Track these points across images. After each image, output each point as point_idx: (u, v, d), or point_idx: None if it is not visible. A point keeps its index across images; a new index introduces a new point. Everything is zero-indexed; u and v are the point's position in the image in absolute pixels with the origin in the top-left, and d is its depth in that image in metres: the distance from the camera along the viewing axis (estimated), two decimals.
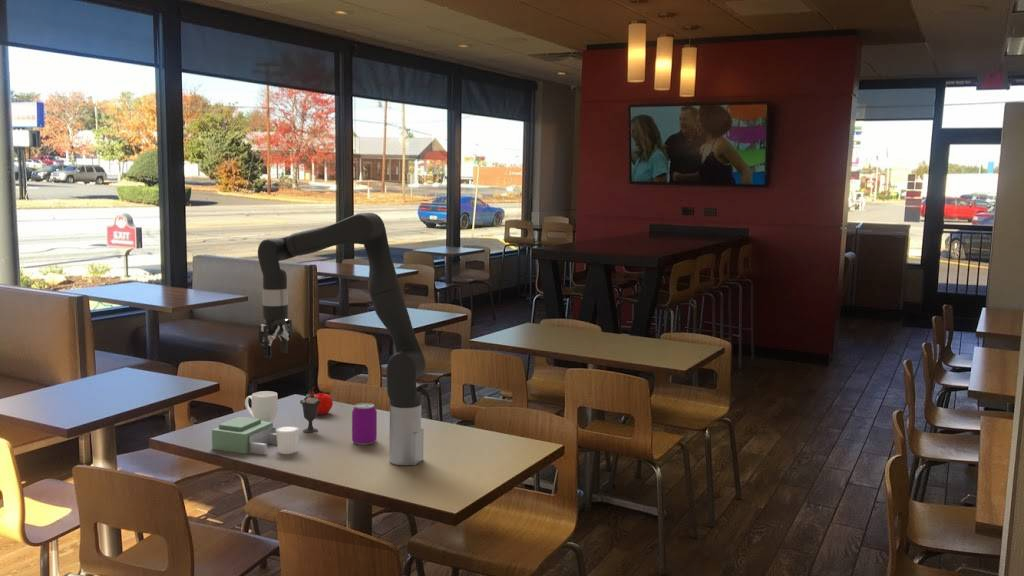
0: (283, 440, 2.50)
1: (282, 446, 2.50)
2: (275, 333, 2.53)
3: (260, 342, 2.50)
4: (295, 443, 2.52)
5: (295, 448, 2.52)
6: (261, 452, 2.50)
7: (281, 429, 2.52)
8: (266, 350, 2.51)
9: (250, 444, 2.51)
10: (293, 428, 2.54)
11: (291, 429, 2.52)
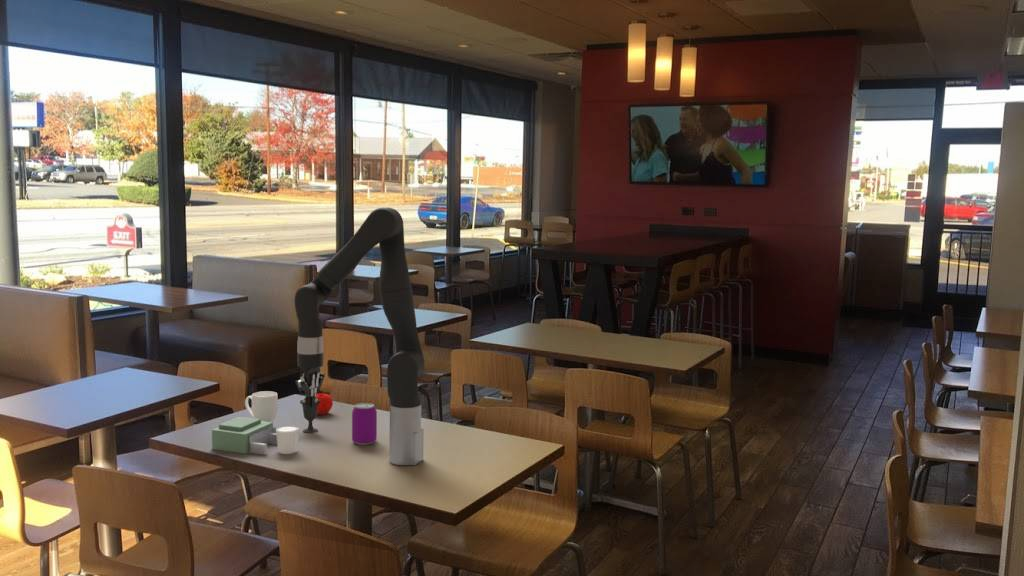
0: (283, 440, 2.50)
1: (282, 446, 2.50)
2: (313, 383, 2.47)
3: (302, 393, 2.46)
4: (295, 443, 2.52)
5: (295, 448, 2.52)
6: (261, 452, 2.50)
7: (281, 429, 2.52)
8: (308, 400, 2.48)
9: (250, 444, 2.51)
10: (293, 428, 2.54)
11: (291, 429, 2.52)
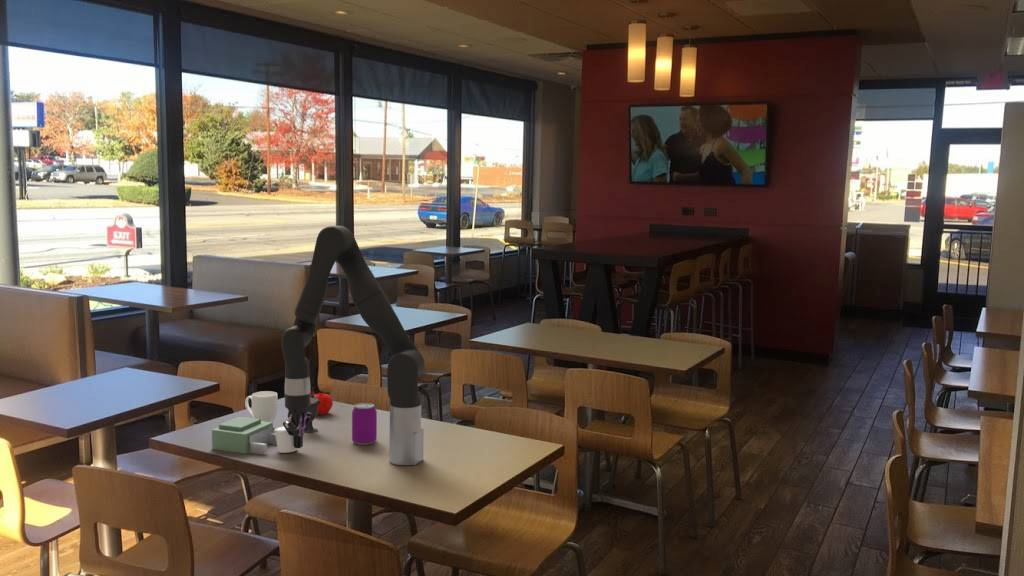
0: (282, 439, 2.50)
1: (281, 445, 2.50)
2: (300, 423, 2.50)
3: (290, 433, 2.49)
4: None
5: None
6: (261, 452, 2.50)
7: (279, 428, 2.52)
8: (296, 441, 2.50)
9: (250, 444, 2.51)
10: None
11: None
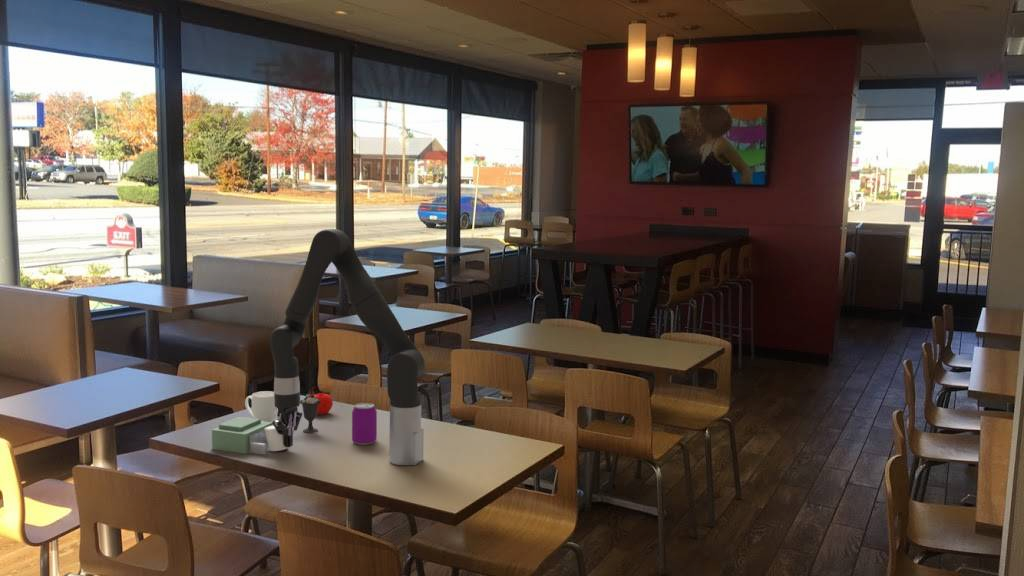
0: (273, 437, 2.51)
1: (272, 443, 2.51)
2: (290, 422, 2.51)
3: (280, 432, 2.50)
4: None
5: None
6: (261, 452, 2.50)
7: (269, 427, 2.53)
8: (286, 440, 2.52)
9: (250, 444, 2.51)
10: None
11: None
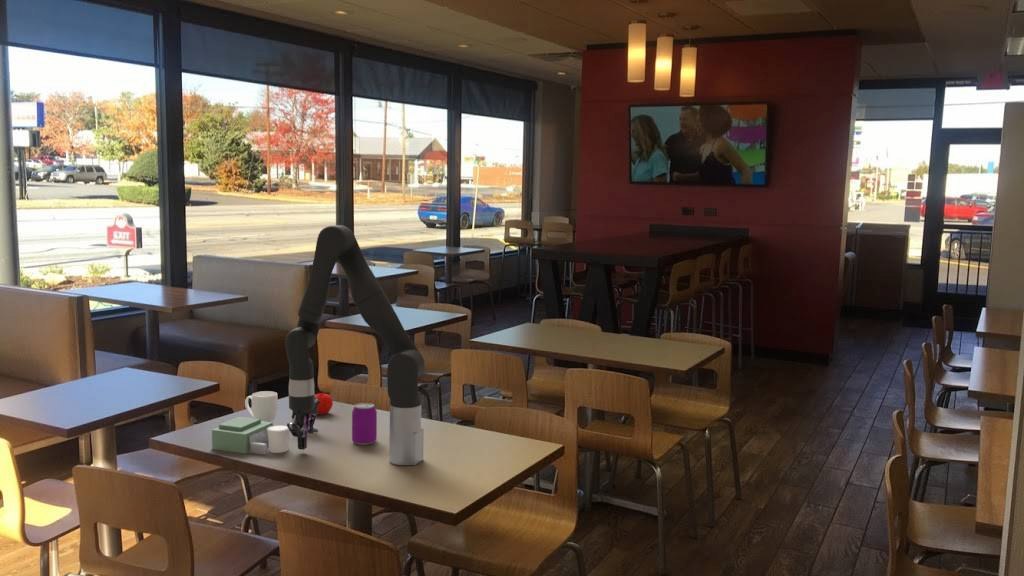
0: (274, 439, 2.51)
1: (273, 445, 2.51)
2: (304, 424, 2.49)
3: (294, 434, 2.48)
4: (286, 442, 2.53)
5: (287, 447, 2.53)
6: (261, 452, 2.50)
7: (272, 428, 2.53)
8: (300, 442, 2.50)
9: (250, 444, 2.51)
10: (284, 427, 2.54)
11: (282, 428, 2.53)
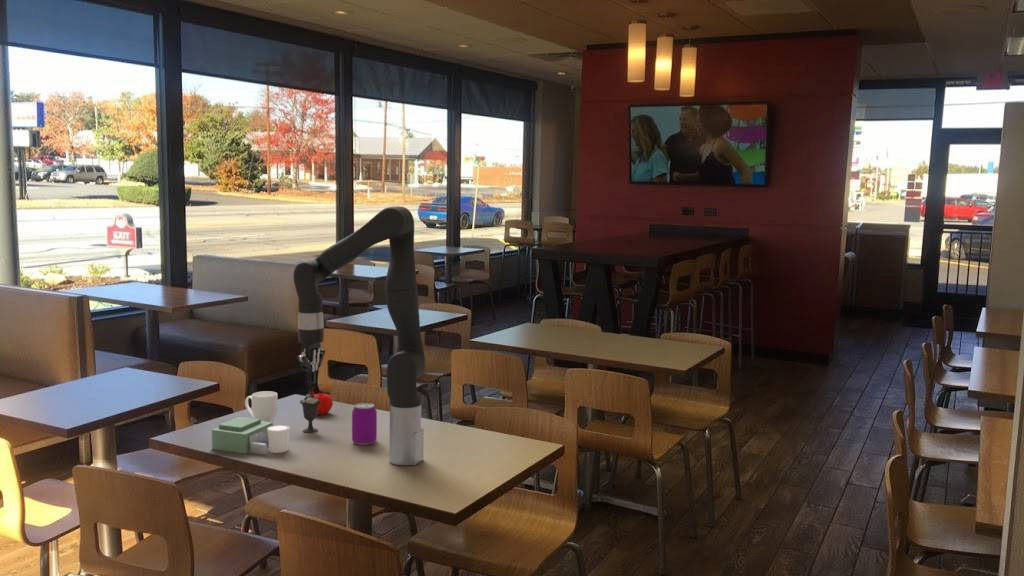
0: (275, 439, 2.51)
1: (273, 445, 2.51)
2: (314, 358, 2.50)
3: (304, 368, 2.49)
4: (286, 442, 2.53)
5: (287, 447, 2.53)
6: (261, 452, 2.50)
7: (272, 428, 2.53)
8: (310, 376, 2.51)
9: (250, 444, 2.51)
10: (284, 427, 2.54)
11: (282, 428, 2.53)
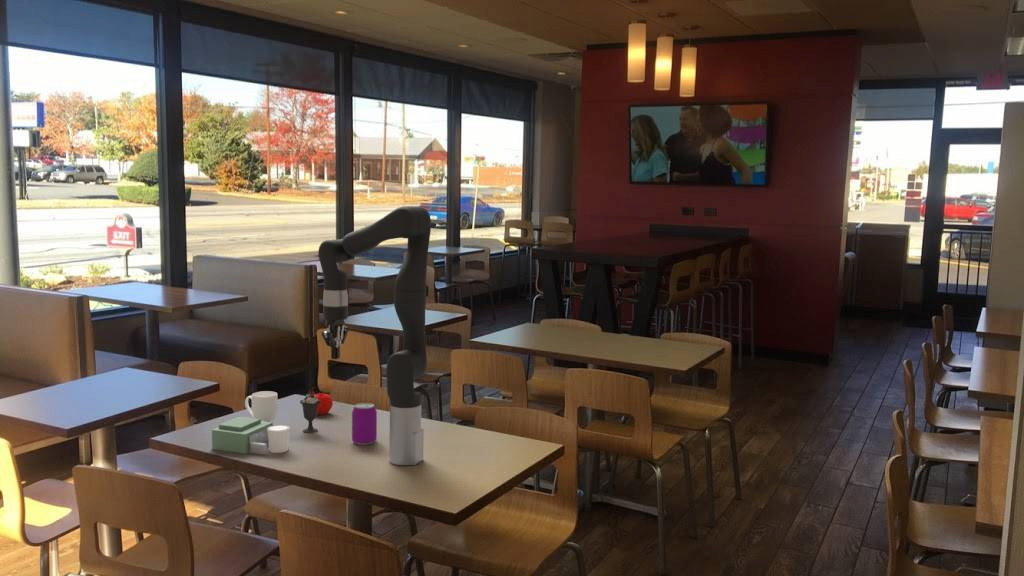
0: (275, 439, 2.51)
1: (274, 445, 2.51)
2: (338, 334, 2.57)
3: (328, 344, 2.56)
4: (286, 442, 2.53)
5: (287, 447, 2.53)
6: (261, 452, 2.50)
7: (272, 428, 2.53)
8: (333, 352, 2.58)
9: (250, 444, 2.51)
10: (284, 427, 2.55)
11: (282, 428, 2.53)
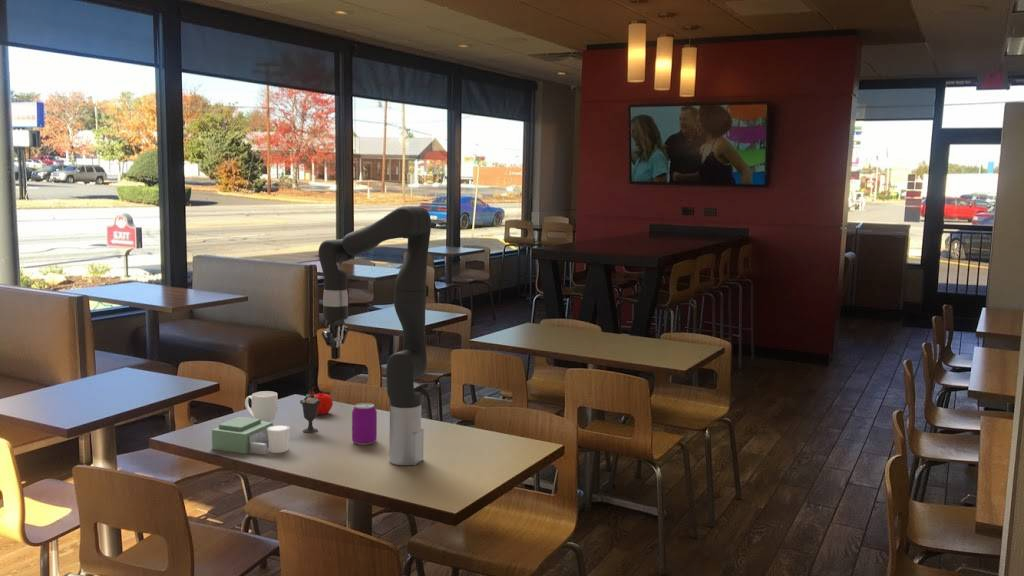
0: (275, 439, 2.51)
1: (274, 445, 2.51)
2: (338, 334, 2.57)
3: (328, 344, 2.56)
4: (286, 442, 2.53)
5: (287, 447, 2.53)
6: (261, 452, 2.50)
7: (272, 428, 2.53)
8: (334, 351, 2.58)
9: (250, 444, 2.51)
10: (284, 427, 2.54)
11: (282, 428, 2.53)
